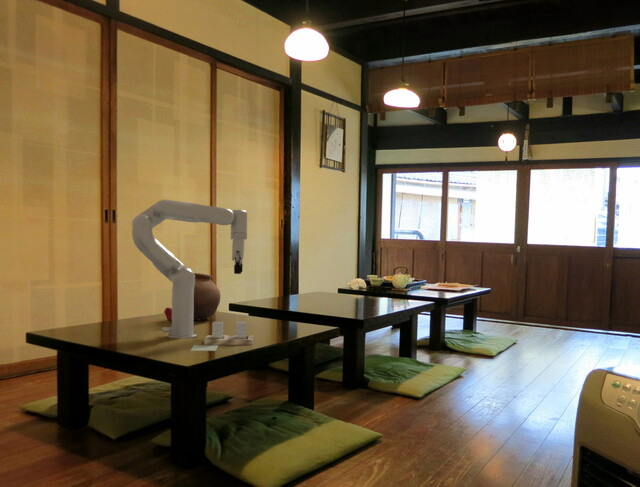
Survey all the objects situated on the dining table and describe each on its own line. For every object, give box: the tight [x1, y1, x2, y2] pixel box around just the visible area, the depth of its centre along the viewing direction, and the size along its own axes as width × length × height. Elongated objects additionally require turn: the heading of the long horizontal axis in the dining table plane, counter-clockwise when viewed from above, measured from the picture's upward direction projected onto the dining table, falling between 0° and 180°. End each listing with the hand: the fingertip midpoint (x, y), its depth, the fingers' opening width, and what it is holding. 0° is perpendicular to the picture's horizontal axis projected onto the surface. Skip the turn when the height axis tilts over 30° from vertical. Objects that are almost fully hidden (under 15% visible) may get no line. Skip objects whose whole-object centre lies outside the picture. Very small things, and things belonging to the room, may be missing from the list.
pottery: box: [193, 272, 221, 321], centre depth 289 cm, size 23×23×25 cm
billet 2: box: [235, 321, 247, 339], centre depth 231 cm, size 4×4×9 cm
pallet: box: [203, 334, 254, 346], centre depth 231 cm, size 20×10×2 cm, turn 95°
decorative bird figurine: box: [163, 307, 172, 324], centre depth 269 cm, size 3×18×10 cm, turn 139°
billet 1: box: [211, 321, 224, 339], centre depth 230 cm, size 4×4×9 cm
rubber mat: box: [190, 344, 219, 352], centre depth 219 cm, size 10×10×1 cm
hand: (238, 272), depth 253 cm, fingers open, 9 cm apart
